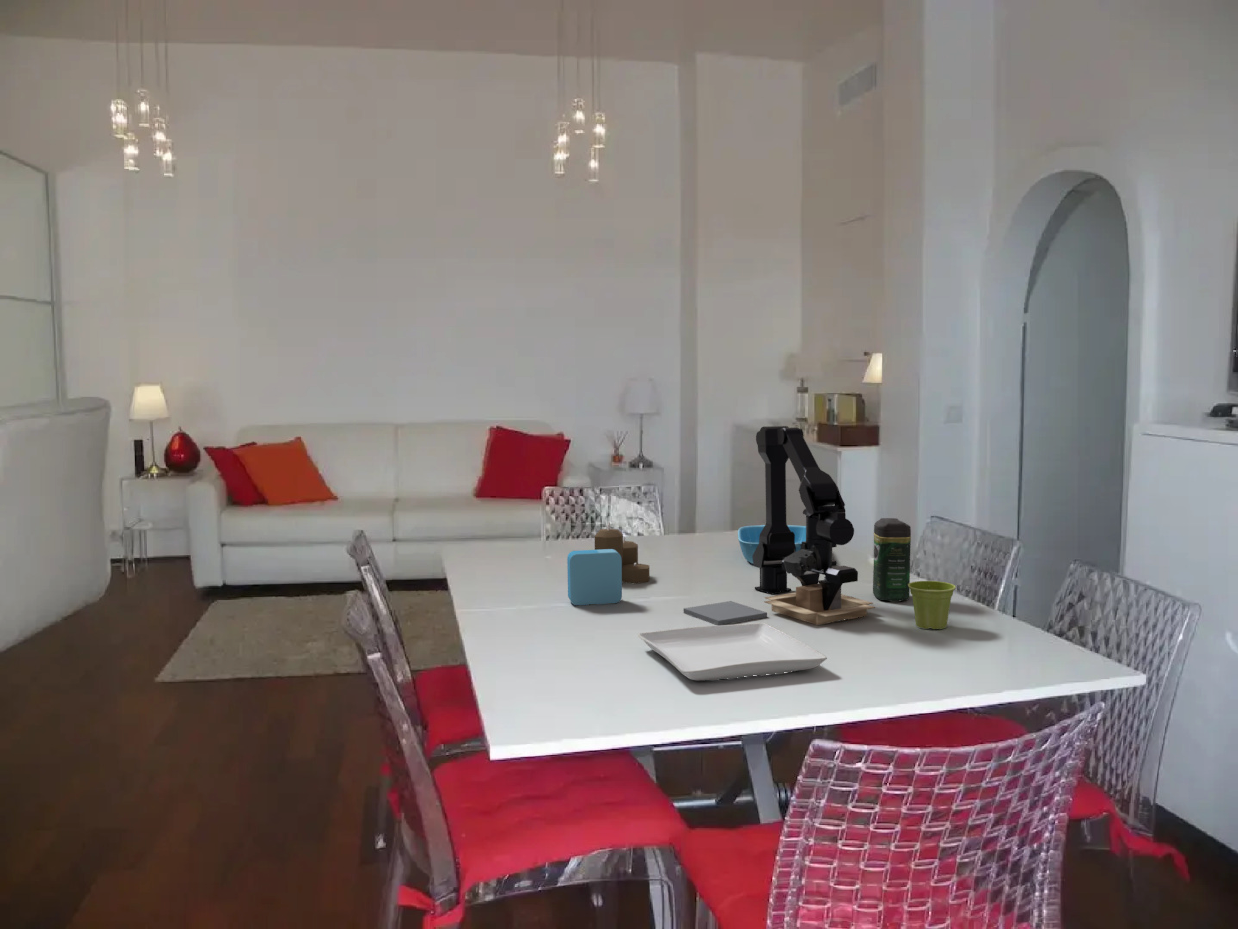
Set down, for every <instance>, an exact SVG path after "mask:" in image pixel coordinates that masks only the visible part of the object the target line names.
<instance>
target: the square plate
mask: <svg viewBox="0 0 1238 929" xmlns="http://www.w3.org/2000/svg"><path fill="white" fill-rule="evenodd" d="M637 637H638V638H639V639H641V640H642V641H643V642H644V643H645V644H646V645H647V646H648V647H649V649H651V650H653V652H655V653H657V654H658V655H660V656H661V658H664V659H665V660H666V661H667V662H669V663H670V664H671V665H672V666H673V667H674V668H676V670H678V671H679V673H680V674H682V675H683V676H685V677H686V678H688V679H689V680H691V681H705V680H718V681H720V680H719V679H727V678H737V677H744V676H753V675H765V676H767V675H766V674H775V673H784V672H790V673H792V672H791V671H794V672H796V671H798V672H799V671H804V670H805V671H806V670H810V669H814V668H816V667H818V666H820V665H822V663H824V661H826V660H827V659H828V656H826V655H824V654H823V653H821V652H819V651H817V650H816V649H814V648H813V647H811V646H809V645H807V644H806V643H804V642H803V641H800V640H799V639H797V638H795V637H793V636H791V635H789V634H788V633H785V632H783V631H782V630H779V629H778V628H775V627H773V626H772V625H769V624H767V623H764V622H759V623H746V624H745V623H744V624H742V623H741V624H724V625H705V626H693V627H682V628H674V629H667V630H666V629H665V630H658V631H648V632H640V633H638V634H637ZM784 674H785V673H784ZM775 675H776V674H775ZM737 679H738V678H737Z"/></svg>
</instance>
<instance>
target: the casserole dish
mask: <svg viewBox="0 0 1238 929" xmlns="http://www.w3.org/2000/svg"><path fill="white" fill-rule="evenodd" d="M765 525H766V524H760V525H757V524H755V525H746V526H741V527H739V528H738V530H737V537H738V538H737V540H738V543H739V546H740V551H741V552H742V555H743V557H744V559H745V560H746V561H747V562H749V563H750V564H751V565H754V564H753V558H752V556H753V554H754V552H755V550H756V548H757V546H758V544H759V536H760V533H761V531H762V530H763V528H764V526H765ZM787 526H788V527H789V529H790V530H791V532H794V534H795V546H796V551H799V550H800V548H801V544H802V542H804V541H806V525H795V524H794V525H793V524H791V525H790V524H787Z"/></svg>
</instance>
